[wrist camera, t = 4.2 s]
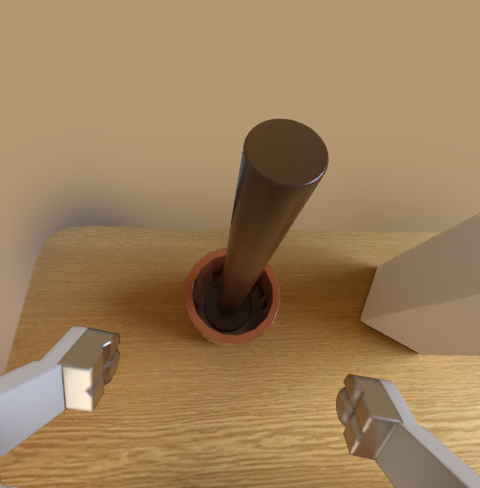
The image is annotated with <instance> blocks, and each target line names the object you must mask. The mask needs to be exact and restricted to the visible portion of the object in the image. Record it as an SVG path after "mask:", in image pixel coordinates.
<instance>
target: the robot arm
mask: <svg viewBox="0 0 480 488" xmlns="http://www.w3.org/2000/svg"><path fill="white" fill-rule="evenodd" d="M119 343H120V335H119V334H117V333H113V332H108V331H103V330H98V329H93V328H86V327H81V326H76V325H75V326H73V327H71V328H70V329H69V330H68V331H67V332H66V333H65V334H64V335H63V336H62V337H61V338H60V339H59V340H58V341H57V342H56V344H55V345H54V346H53V347H52V348H51V349H50V350H49V351H48V352H47V353H46V354H45V355H44V356H43V357H42V358H41V359H40V360H39V361H32V362H30V363H27V364H25V365H23V366H21V367H19V368H16V369H14V370H12V371H10V372H7V373H5V374H3V375H1V376H0V458H1V457H3V456H4V455H5V454H7V453H8V452H9V451H11V450H12V449H13V448H15V447H16V446H17V445H19V444H20V443H22V442H23V441H24V440H26V439H27V438H28V437H30V436H31V435H32V434H34V433H35V432H36V431H38V430H39V429H40V428H42V427H43V426H44V425H46V424H47V423H48V422H50V421H51V420H53V419H54V418H55V417H57V416H58V415H59V414H61V413H62V412H63V411H65V409H72V410H80V411H87V412H93V411H94V409H95V408H96V406H97V404H98V403H99V401H100V399H101V397H102V396H103V394H104V385H106V384H107V383H109V382H110V381H111V380H112V378H113V376H114V375H115V372H116V370H117V367H118V364H119V359H120V352H119V351H118V349H117V347H118V345H119ZM344 384H345V387H344V388H343V389H341V390H340V391H339V393H338V395H337V400H336V409H337V415H338V418H339V420H340V422H341V423H342V424H343V425H344V426H345V427H346V428H345V430H344V433H343V434H344V437H345V440H346V444H347V447H348V450H349V453H350V455H354V456H359V457H364V458H369V459H374V460H376V463H377V464H378V465H379V467H380V468H381V469H382V471H383V472H384V473H385V475H386V476H387V477H388V479H389V480H390V481H391V483H392V484H393V485H394V487H395V488H480V476H479V475H478V474H477V473H476V472H475V471H473V470H472V469H471V468H470V467H469V466H468V465H467V464H465V463H464V462H463V461H462V460H461V459H460V458H459V457H457V456H456V455H455V454H454V453H453V452H452V451H451V450H449V449H448V448H447V447H446V446H445V445H444V444H443V443H441V442H440V441H439V440H438V439H437V438H436V437H435V436H433V435H432V434H431V433H430V432H429V431H428V430H427V429H425V428H424V427H421V426H419V425H418V423H417V421H416V420H415V418H414V416H413V415H412V413H411V411H410V409H409V408H408V406H407V404H406V403H405V401H404V399H403V398H402V396H401V394H400V392H399V391H398V389H397V387H396V386H395V384H394V383H393V382H392V381H389V380H382V379H375V378H370V377H364V376H358V375H352V374H349V375H347V376H346V378H345V380H344ZM0 488H21V487H15V486H8V485H2V484H1V476H0Z"/></svg>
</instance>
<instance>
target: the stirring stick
mask: <svg viewBox="0 0 480 488" xmlns="http://www.w3.org/2000/svg"><path fill="white" fill-rule="evenodd" d="M327 166H328V151H327V148H326V145H325V144H324V142H323V140H322V139H321V137H319V135H318V134H317V133H316V132H315V131H313V130H312V129H311V128H309V127H308V126H306V125H304V124H302V123H299V122H296V121H293V120H288V119H272V120H267V121H264V122H262V123H260V124H258V125H257V126H255V127H254V128H253V129H252V130H251V131H250V132H249V134H248V135H247V137H246V139H245V142H244V146H243V152H242V158H241V165H240V171H239V177H238V183H237V189H236V196H235V202H234V208H233V214H232V221H231V227H230V232H229V239H228V245H227V251H226V257H225V263H224V269H223V276H222V282H221V283H220V284H217V285H216V286H214V287H213V288H212V289H211V290H210V291H209V292H208V294H207V295H206V298H205V301H204V312H205V316H206V319H207V320H208V322H209V323H210V324H211V325H212V326H213V327H214V328H215V329H217V330H220V331H223V332H231V331H235V330H237V329H239V328H241V327H242V326H243V325H244V324H245V323H246V322H247V321H248V319H249V317H250V315H251V312H252V301H251V297H250V295H249V292H250V290H251V289H252V287H253V286H254V284H255V282H256V281H257V279H258V278H259V276H260V275H261V273H262V271H263V270H264V268H265V267H266V265H267V264H268V262H269V260H270V259H271V257H272V256H273V254H274V252H275V251H276V249H277V248H278V246H279V245H280V243H281V241H282V240H283V238H284V237H285V235H286V234H287V232H288V230H289V229H290V227H291V226H292V224H293V223H294V221H295V219H296V218H297V216H298V215H299V213H300V212H301V210H302V208H303V207H304V205H305V204H306V202H307V200H308V199H309V197H310V196H311V194H312V192H313V191H314V189H315V188H316V186H317V185H318V183H319V182H320V180H321V178H322V177H323V175H324V174H325V172H326V170H327Z"/></svg>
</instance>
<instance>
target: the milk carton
mask: <svg viewBox="0 0 480 488" xmlns="http://www.w3.org/2000/svg"><path fill="white" fill-rule="evenodd" d="M360 321H361V322H363V323H365V324H366V325H368V326H370V327H372V328H374V329H376V330H377V331H379V332H381V333H383V334H385V335H386V336H388V337H390V338H392V339H394V340H396V341H397V342H399V343H401V344H403V345H405V346H407V347H408V348H410V349H412V350H414V351H416V352H417V353H419V354H421V355H475V356H480V213H479V214H477V215H475V216H473V217H471V218H469V219H468V220H466V221H464V222H462V223H460V224H458V225H456V226H454V227H452V228H450V229H448V230H447V231H445V232H443V233H441V234H439V235H437V236H435V237H433V238H431V239H429V240H427V241H425V242H424V243H422V244H420V245H418V246H416V247H414V248H412V249H410V250H408V251H406V252H404V253H402V254H401V255H399V256H397V257H395V258H393V259H391V260H389V261H387V262H385V263H383V264H381V265H380V266H378V268H377V270H376V273H375V276H374V279H373V282H372V285H371V288H370V291H369V294H368V297H367V300H366V303H365V306H364V309H363V312H362V315H361V318H360Z"/></svg>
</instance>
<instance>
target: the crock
mask: <svg viewBox="0 0 480 488" xmlns="http://www.w3.org/2000/svg"><path fill="white" fill-rule="evenodd" d="M226 251H227V248H223V249H220V250H217V251H214V252H210V253H208V254H207V255H206V256H205V257H203V258H202V259H201V260H200V261H198V262H197V263H196V264H195V265H194V267H193V269H192V271H191V272H190V274H189V276H188V278H187V280H186V284H185V294H184V302H185V305H186V309H187V312H188V315H189V318H190V320H191V322H192V324H193V325H194V327H195V329H196V330H197V331H198V332H199V334H200V335H201V336H202V337H203V338H204V339H205V340H207V341H209V342H210V343H212V344H215V345H217V346H225V347H226V346H232V347H233V346H236V345H239V344H242V343H245V342H247V341H250V340H252V339H254V338H257V337H259V336H261V335H262V334H263V333H264V332H265V331H266V330H267V329H268V327H269V326H270V325H271V324H272V323H273V322H274V320H275V317H276V315H277V312H278V309H279V307H280V286H279V283H278V280H277V278H276V276H275V273H274V271H273V269H272V268H271V267H270V266H269V265H268V264H267V265H266V267H265V268H264V270H263V271H262V273H261V275H260V276H259V278H258V279H257V281H256V282H255V284H254V286H253V287H252V289H251V290H250V292H249V295H250V297H251V301H252V312H251V315H250V317H249V319H248V321H247V322H246V323H245V324H244V325H243V326H242V327H241V328H239V329H237V330H235V331H231V332H223V331H220V330H217V329H215V328H214V327H213V326H212V325H211V324H210V323H209V322H208V320H207V319H206V316H205V312H204V301H205V298H206V295H207V294H208V292H209V291H210V290H211V289H212V288H213V287H214V286H216V285H217V284H220V283H221V282H222V276H223V269H224V263H225V257H226Z"/></svg>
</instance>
